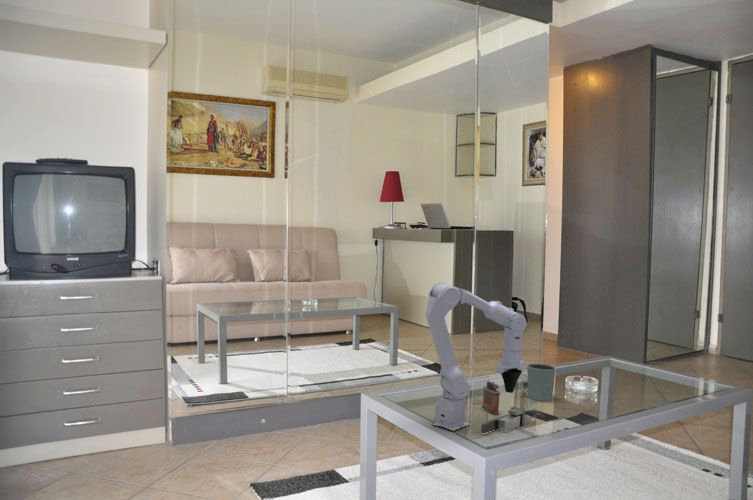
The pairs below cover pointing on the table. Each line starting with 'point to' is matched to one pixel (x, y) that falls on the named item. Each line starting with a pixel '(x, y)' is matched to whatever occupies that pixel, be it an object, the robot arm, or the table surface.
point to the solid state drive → (540, 415)
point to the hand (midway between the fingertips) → (509, 392)
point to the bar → (509, 423)
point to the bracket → (494, 423)
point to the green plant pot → (540, 382)
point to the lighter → (491, 398)
